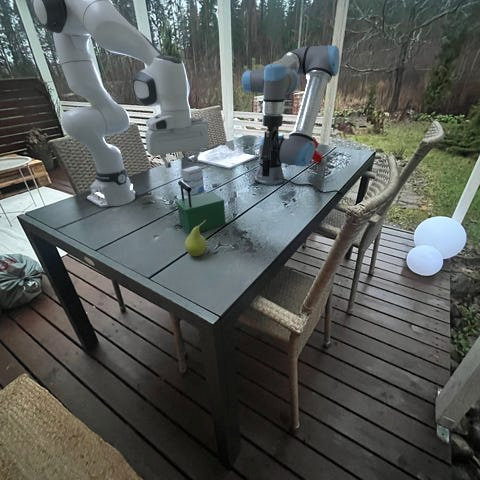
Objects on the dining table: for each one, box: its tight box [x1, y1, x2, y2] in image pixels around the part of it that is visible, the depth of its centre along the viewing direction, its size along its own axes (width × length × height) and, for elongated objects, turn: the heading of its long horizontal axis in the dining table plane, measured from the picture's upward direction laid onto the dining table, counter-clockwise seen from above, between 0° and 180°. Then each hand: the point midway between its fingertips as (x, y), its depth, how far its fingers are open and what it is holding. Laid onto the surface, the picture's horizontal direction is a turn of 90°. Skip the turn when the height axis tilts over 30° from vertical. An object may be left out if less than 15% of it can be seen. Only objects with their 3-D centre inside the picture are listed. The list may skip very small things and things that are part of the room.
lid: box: [174, 179, 225, 213], centre depth 98 cm, size 16×9×9 cm, turn 122°
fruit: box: [184, 219, 208, 257], centre depth 85 cm, size 7×8×12 cm
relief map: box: [188, 144, 257, 170], centre depth 178 cm, size 27×35×5 cm
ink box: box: [181, 165, 205, 197], centre depth 128 cm, size 8×5×12 cm, turn 134°
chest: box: [177, 202, 226, 235], centre depth 103 cm, size 15×9×9 cm, turn 122°
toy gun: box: [312, 136, 324, 165], centre depth 169 cm, size 18×4×15 cm
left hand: (182, 164), depth 90 cm, fingers open, 8 cm apart
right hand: (269, 170), depth 111 cm, fingers open, 13 cm apart
